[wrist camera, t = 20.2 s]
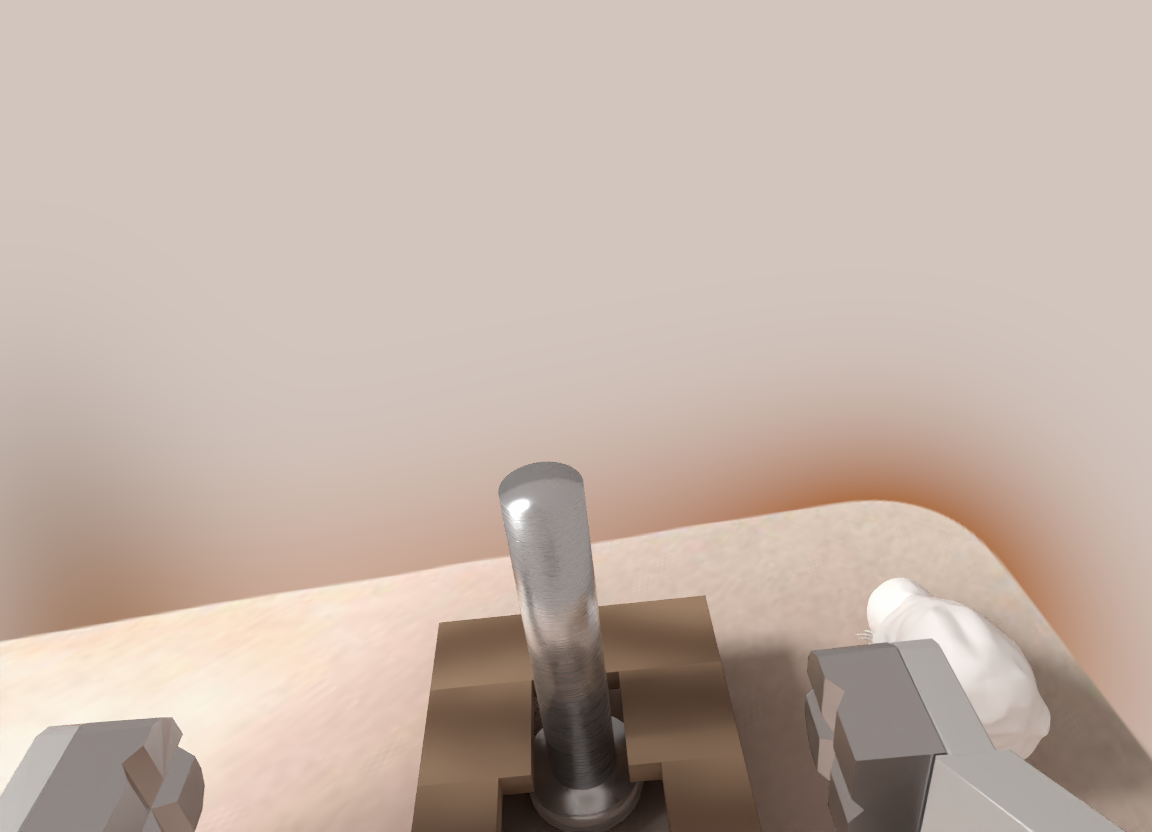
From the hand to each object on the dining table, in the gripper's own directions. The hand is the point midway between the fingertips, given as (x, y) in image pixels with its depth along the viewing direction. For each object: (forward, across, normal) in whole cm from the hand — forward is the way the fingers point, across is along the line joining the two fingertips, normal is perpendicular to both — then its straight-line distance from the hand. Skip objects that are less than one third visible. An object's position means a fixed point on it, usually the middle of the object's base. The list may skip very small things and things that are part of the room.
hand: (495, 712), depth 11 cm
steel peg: (+18, +1, +28) cm, 33 cm away
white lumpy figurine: (+20, -17, +28) cm, 39 cm away
